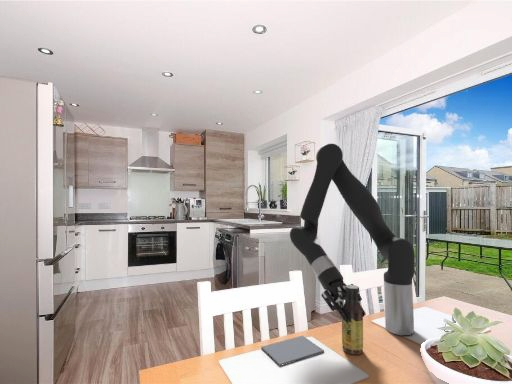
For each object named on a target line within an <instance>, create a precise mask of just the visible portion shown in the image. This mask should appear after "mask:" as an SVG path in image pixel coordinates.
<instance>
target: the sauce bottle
mask: <svg viewBox="0 0 512 384" xmlns="http://www.w3.org/2000/svg"><path fill="white" fill-rule="evenodd" d="M345 290H346V301H345V300H344V301H345V302H344V303H343V306H344V307H343V308H345V309H346V311H347V312H348V314H349V315H350V317H351V321H350V322H348V323H346V322H345V321H344V320H343V318H342V317H341V345H342V350H343V351H344V352H346V353H348V354H349V355H353V356H355V355H356V356H357V355H360V354H362V353H363V348H364V317H363V310H364V309H363V310H362V308H363V307H362V305H361V303H360V304H359V295H360V287H359V286H358V285H355V284H353V285H351V284H346V288H345ZM358 293H359V295H358ZM360 305H361V306H360Z"/></svg>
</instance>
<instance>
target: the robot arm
mask: <svg viewBox="0 0 512 384" xmlns="http://www.w3.org/2000/svg"><path fill="white" fill-rule="evenodd" d="M343 154H344V153H343V150H342V148H341V147H340V146H339V145H337V144H336V143H326V144H323V145H322V146H321V147H320V148H319V149H318V150H317V151H316V156H315V161H316V168H315V172H314V176H313V180H312V183H311V185H310V186H309V189H308V192H307V194H306V196H305V198H304V201H303V205H302V208H301V211H300V214H299V215H300V219H302V221H303V225H295V226H293V227H292V228H291V230H290V232H289V238H290V241H291V244H292V245H293V246H294V247H295V248H296V249H297V250H298V251H299V252H300V253H301V254H302V255H303V256H304V257H305V259H306V260H307V262H308V263H309V265H310V267H311V269H312V271H313V273H314V275H315V277H316V278H317V279H318V282H319V283H320V285H321V286H322V288H323V290H324V291H323V292H322V293H321V295H320V296H321V297H322V299H323V300H324V302H325V303H326V304H327V306H328V307H329V308H330V310H331V312H334V311H336V312H337V313H339V315H340V316H341V319H342V318H343V320H344V321H345V322H346V323H348V322H350V321H351V317H350V315H349V314H348V312H347V311H346V309H345V308H343V307H344V302H343V301H346V290H345V288H346V285H347V284H346V283H345V282H344V277H343V275H342V274H341V272H340V271H339V269H338V268H337V266H336V265H335V263H334V261H333V260H332V259H331V258H330V257H329V255H328V254H327V253H326V251H325V250H324V248H323V247H322V246H321V245H320V244H318V243H316V242H315V241H316V239H317V237H318V230H319V229H318V228H319V219H320V216H321V213H322V210H323V207H324V204H325V200H326V198H327V197H326V196H327V193H328V191H329V188H330V184H331V182H333V183H334V185H335V186H336V188H337V190H338V191H339V194H340V195H341V196H342V199H343V200H344V201H345V203H346V204H347V206H348V209H350V211H351V212H352V214H353V215H354V216H355V217H356V218H357V220H358V221H359V223H360V224H361V226H362V227H363V228H364V229H365V230H366V231H367V233H368V235H370V238H371V239H372V241H373V243H374V245H375V246H376V248H377V249H378V251H379V253H380V255H381V256H382V257H383V258H384V259H385V260H386V261H387V271H385V272H383V294H384V295H383V296H384V299H383V300H384V320H385V321H384V324H385V325H384V326H385V329H386V331H387V332H389V333H391V334H393V335H397V336H402V335H410V336H412V335H411V334H413V333H414V334H415V321H414V319H415V317H414V291H413V279H414V276H415V249H414V246H413V244H412V243H411V242H410V241H409V240H407V239H405V238H402V237H398V236H396V235H395V233H394V232H392V230H391V229H390V228H389V227H388V225H387V223H386V222H385V220H384V217H383V214H382V211H381V208H380V205H379V202H378V201H377V200H376V199H375V197H374V196H373V194H372V193H371V192H370V190H369V188H367V187H366V186H365V185H364V184H363V183H362V182H361V180H359V179H358V178H357V177H356V176H355V175H354V174H353V173H352V172H351V171H350V169H349V167H348V166H347V164H346V163H345V161H344V159H343V157H344V155H343ZM350 285H354V284H353V283H351V284H350ZM358 295H359V304H360V306H361V307H362V305H361V303H360V302H361V301H362V300H363V298H362V297H361V295H360V292H359V293H358ZM362 310H363V318H364V317H366V314H367V313H366V311H365V310H364V308H363V307H362ZM414 334H413V335H414Z"/></svg>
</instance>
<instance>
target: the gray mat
mask: <svg viewBox="0 0 512 384" xmlns="http://www.w3.org/2000/svg"><path fill="white" fill-rule="evenodd" d="M261 350H264V351H265V352H266V353H265V354H267V355H268V354H269V355H270V356H271V357H272V358H273V359H274V360H275V361H276V362H277V363H278V364H279V365H282V364H286V363H289V362H292V363H294V362H293V361H295V362H297V361H296V360H298V361H300V360H299V359H301V360H303V359H302V358H305V357H308V358H310V357H309V356H311V357H314V356H317V355H320V354H322V353H325V349H322V348H321V347H320V346H319V345H318V344H316V343H314V342H313V341H311V340H310V339H308V338H307V337H306V336H304V335H300V336H296V337H292V338H289V339H285V340H281V341H277V342H273V343H270V344H266V345H262V346H261ZM264 351H263V352H264ZM319 353H320V354H319ZM316 354H317V355H316ZM269 355H268V356H269ZM313 355H314V356H313ZM270 356H269V357H270ZM271 357H270V358H271ZM272 358H271V359H272ZM273 359H272V360H273ZM305 359H306V358H305ZM274 360H273V361H274ZM275 361H274V362H275ZM276 362H275V363H276ZM277 363H276V364H277ZM278 364H277V365H278ZM289 364H290V363H289ZM279 365H278V366H279ZM286 365H287V364H286Z"/></svg>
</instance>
